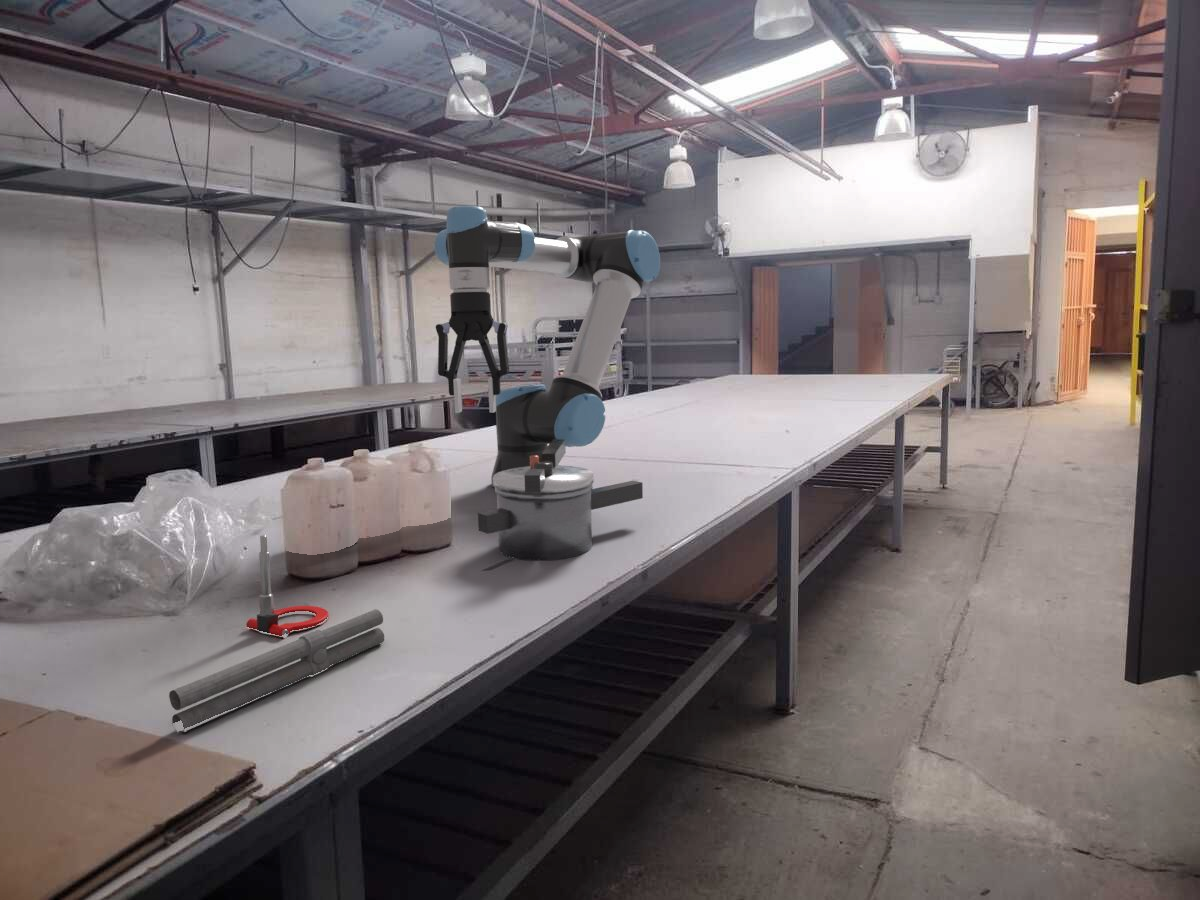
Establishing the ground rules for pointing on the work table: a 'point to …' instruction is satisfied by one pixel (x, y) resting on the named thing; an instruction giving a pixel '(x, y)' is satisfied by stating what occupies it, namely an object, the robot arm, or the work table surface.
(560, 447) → the lid
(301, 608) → the tow hook
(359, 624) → the metal rod assembly
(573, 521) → the pot
